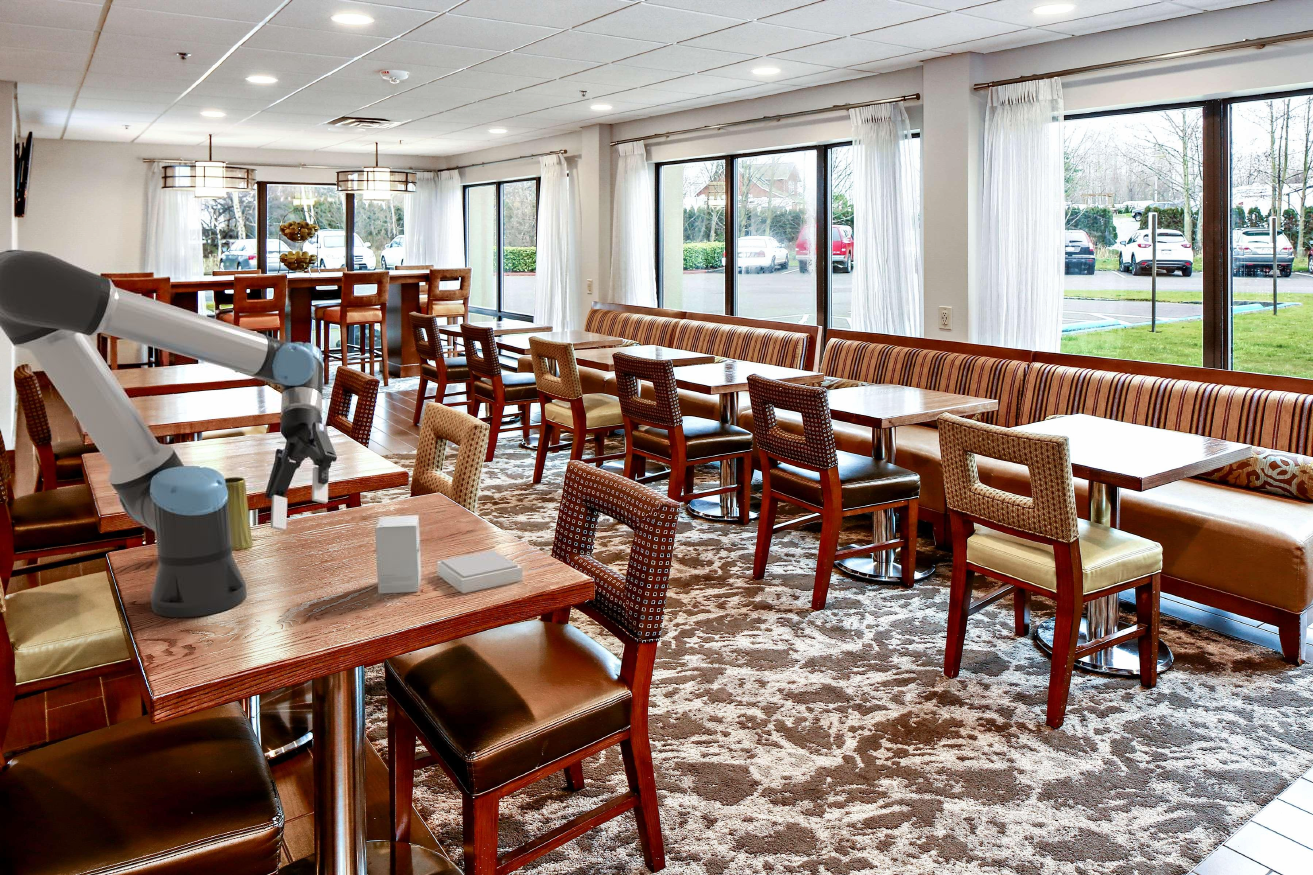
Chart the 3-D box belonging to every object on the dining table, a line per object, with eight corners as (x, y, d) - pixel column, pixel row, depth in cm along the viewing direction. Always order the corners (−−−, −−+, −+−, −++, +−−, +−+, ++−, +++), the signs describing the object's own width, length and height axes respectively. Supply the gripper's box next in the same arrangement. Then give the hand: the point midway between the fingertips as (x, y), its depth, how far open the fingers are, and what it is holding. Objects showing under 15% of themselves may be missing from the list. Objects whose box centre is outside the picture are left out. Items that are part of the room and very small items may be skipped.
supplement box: (419, 592, 172) (416, 525, 169) (377, 594, 171) (373, 527, 168) (422, 578, 179) (419, 514, 176) (382, 580, 178) (378, 515, 175)
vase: (246, 539, 202) (241, 475, 199) (257, 546, 197) (252, 480, 194) (217, 545, 198) (210, 479, 195) (227, 552, 193) (221, 485, 190)
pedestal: (462, 593, 171) (462, 577, 171) (437, 574, 181) (436, 559, 180) (522, 580, 178) (522, 565, 177) (495, 563, 188) (494, 548, 187)
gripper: (356, 394, 180) (356, 494, 169) (284, 447, 192) (280, 543, 182) (321, 381, 174) (319, 483, 164) (249, 436, 187) (243, 535, 177)
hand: (298, 515), depth 173 cm, fingers open, 13 cm apart
